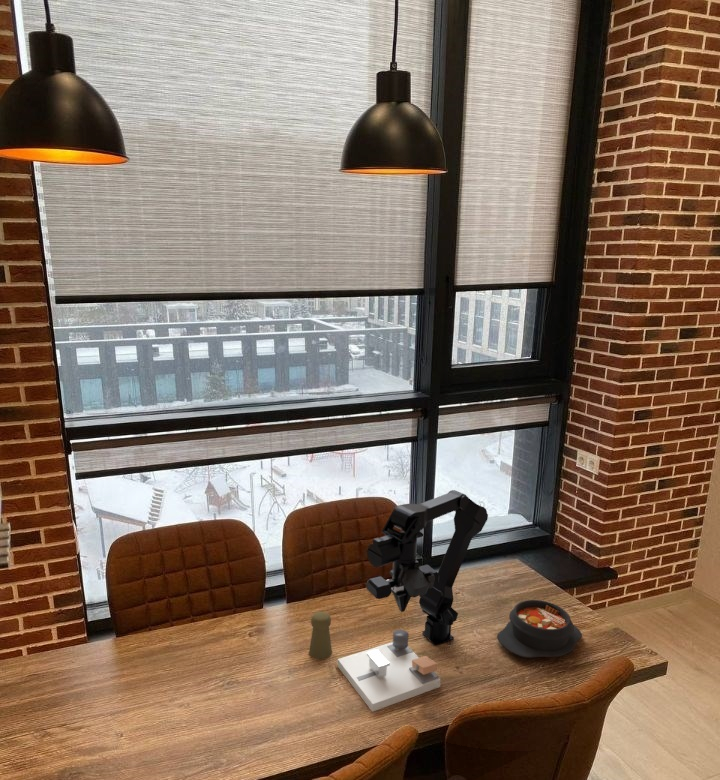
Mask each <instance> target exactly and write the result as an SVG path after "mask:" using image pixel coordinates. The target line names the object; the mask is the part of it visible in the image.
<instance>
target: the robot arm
mask: <svg viewBox="0 0 720 780" xmlns="http://www.w3.org/2000/svg"><path fill="white" fill-rule="evenodd" d="M452 512H455V513H454V517H453V523H454V524H453V525H454V532H453V535H452V537H451V539H450V542H449V545H448V546H447V550H446V552H445V554H444V556H443V559H442V561H441V564H440V566H439V569H438V572H437V570H436V569H434V568H433V567H431V566H430V565H429V564H424V565H420V562H419V561H418V560H417V546H418V544H417V543H418V539H419V538H422V537H424V533H423V532H422V530H424V529H425V528H426V526H427V524H428V522H430V521H433V520H435V519H437V518H439V517H443V516H444V515H445V516H446V515H447V514H451V513H452ZM488 518H489V513H488V511H487V508H486V507H484V506H482V505H479V504H477V503H476V502H475V501H473V500H472V499H470V497H469V496H468V495H466V494H465V493H462V492H459V491H457V490H455V489H454V490H453V489H452V490H450V491H448V492H447V493H445V494H442V495H439V496H437V497H434V498H431V499H429V500H427V501H424V502H421V503H403V504H398V505H396V506H395V507H394V508H393V511H392V512H391V514H390V515H389V518H388V519H387V522H386V523H385V524H384V527H383V528H382V530H381V533H382V534H384V535H383V536H380V537H376V538H373V540H372V543H370V544H369V545H368V547H367V549H366V556H367V559H368V561H369V564H370V565H371V566H372V567H374V568H380V567H383V566H386V565H388V564H391V563H392V569H391V570H389V575H390V576H391V577H392V578H391V579H385V578H384V577H382V576H381V575H379V576H376V577H372V578H369V579H368V580H367V581H366V588H365V589H366V590H367V591H368V592H369V593H370V594H371V595H372V596H373V597H374V598H376V599H377V600H380V599H384V598H388V597H390V596H391V595H393V596H394V599H395V600H394V601H395V602H396V605H397V607H398V610H399V611H400V612H401V613H403V612H405V610H406V609H407V606H408V605H409V602H410V599H411V598H417V597H419V600H418V604H419V607H420V608H421V611H422V613H423V614H426V621H425V623H424V630H422V635H423V636H424V637H425V638H426V639H428V641H429V642H431V644H432V645H434V646H439V645H442V644H445V643H447V642H450V641H454V640H455V637H454V636H453V635H452V634H451V633H452V632H451V631H452V625H454V622H456V621H457V619H458V615H459V613H458V611H457V610H455V609H454V608H453V607H452V606H453V602H454V593H453V592H454V591H453V586H454V583H455V582H456V581H455V580H456V579H457V576H458V575H459V571H460V568H461V566H462V564H463V562H464V558H465V556H466V554H467V551H468V549H469V546H470V544H471V542H472V540H473V538H474V537H476V536H477V535H478V534H479V533H481V532H482V531H483V528H484V526H485V525H486V523H487V522H488ZM394 527H395V528H396V529H395V528H394ZM397 529H398V530H401V531H398V530H397Z"/></svg>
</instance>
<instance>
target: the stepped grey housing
mask: <svg viewBox="0 0 720 780" xmlns="http://www.w3.org/2000/svg"><path fill="white" fill-rule="evenodd" d="M367 656H368V657H369V667H370V668H371V669H372V670H373V671H374V673H375V674H376V675H377V676H378V677H379V678H381V677H384V676H386V672H387V666H389V665H390V663H389V662H388V661H387V660H386V658H385V657H384V656H383V655H382V654H381V653H380V652H379V651H378V650H374V651H371V652H367Z"/></svg>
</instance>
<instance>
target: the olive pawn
mask: <svg viewBox="0 0 720 780" xmlns="http://www.w3.org/2000/svg"><path fill="white" fill-rule="evenodd" d="M310 623H311V626H312V631H311V638H310V643H309V644H310V645H309V648H308V649H309V650H308V654H309V656H310V657H311V658H313V659H315V660H318V661H319V660H321V661H322V660H326V659H329V658H330V657H331V656H332V654H333V651H332V648H333V647H332V641H331V634H330V633H331V632H330V627H331V623H332V617H331V615H330V614H329V613H328V612H326V611H317V612H314V613H313V615H312V616H311V619H310Z"/></svg>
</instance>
